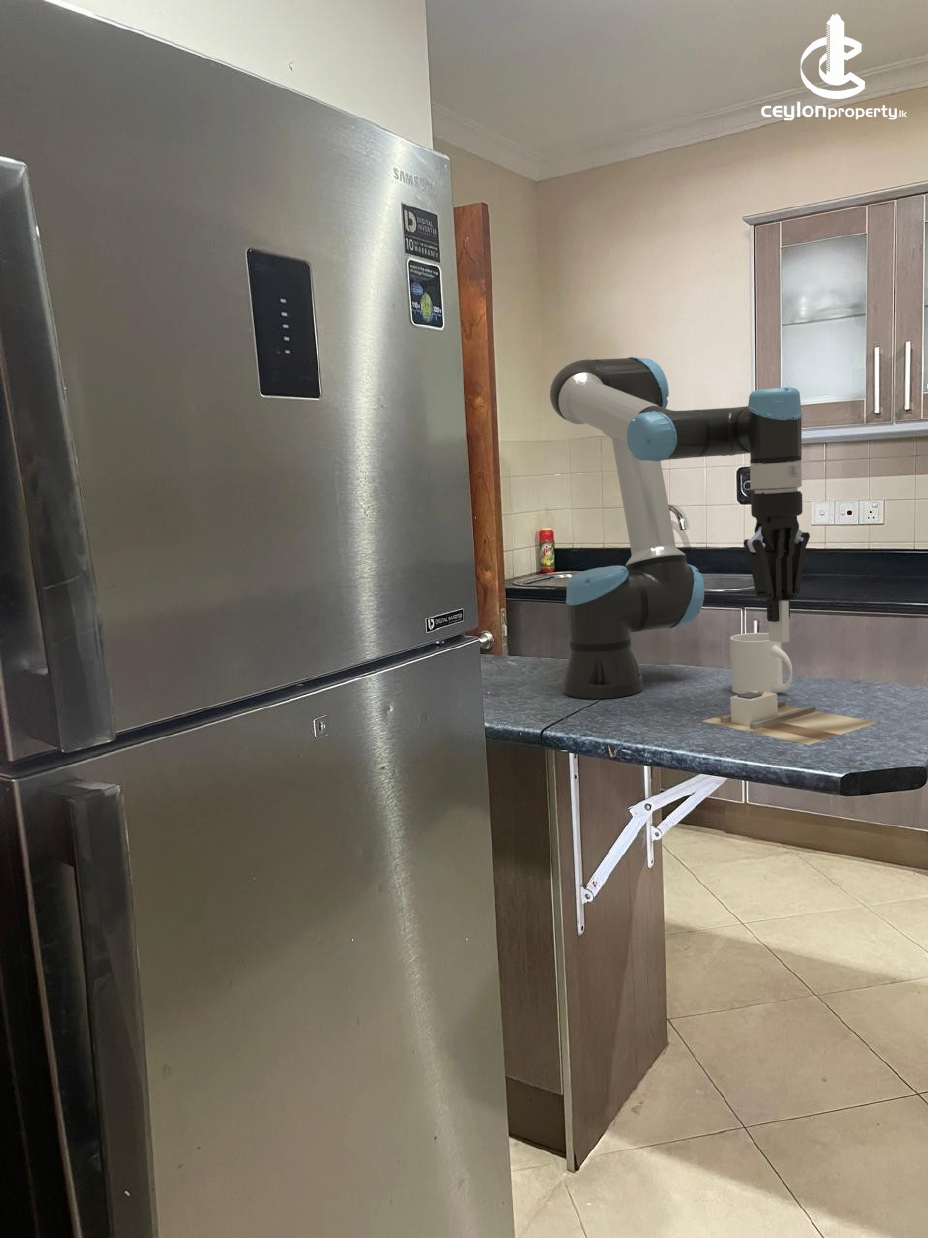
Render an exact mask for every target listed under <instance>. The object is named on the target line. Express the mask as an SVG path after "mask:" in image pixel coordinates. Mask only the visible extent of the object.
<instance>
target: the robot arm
mask: <svg viewBox="0 0 928 1238" xmlns="http://www.w3.org/2000/svg"><path fill="white" fill-rule="evenodd" d="M669 393H670V391H669V384H668V380H667V376H666V375H665V372H664V370H663V369H662V367H661V366H660V365H659V364H658V363H657V362H655V361H654V360H652V359H650V358H645V357H634V356H630V357H627V358H626V357H625V358H623V357H622V358H621V357H620V358H602V359H601V358H599V359H597V358H596V359H580V360H576V361H574V362H571V363H569V364H567V365H565V366H564V367H563V368H562V369H560V370H559V372H558V373H557V374H556V375H555V377H554V378H553V379H552V381H551V385H550V391H549V398H550V403H551V406H552V408H553V410H554V411H555V413H556V414H557V415H558V416H559V417H560V418H562V419H564V420H566V421H568V422H569V423H572V424H575V425H585V424H587V425H589V426H590V427H593V428H595V429H598V430H600V431H602V433H603V434H605V436H607V437H609V438H610V439H611V441H612V447H613V448H612V449H613V455H614V458H615V465H616V469H617V470H616V472H617V478H618V484H619V487H620V494H621V500H622V506H623V510H624V517H625V523H626V529H627V535H628V540H629V546H630V552H631V557H629V559H628V560H627V562H626V563H625V566H624V565H609V566H605V567H596V568H591V569H586V570H584V571H581V572H580V571H579V572H578V573H575V574H573V575H572V576H570V578H569V579H567V582H566V599H565V603H566V609H567V621H568V636H569V638H568V639H569V650H570V651H569V657H568V661H567V665H566V670H565V675H564V678H563V682H562V687H563V688H562V689H563V694H565V695H567V696H569V697H573V698H578V699H579V698H580V699H594V700H595V699H597V700H598V699H600V700H601V699H614V698H621V697H626V696H627V697H628V696H631V695H635V694H638V693H639V692H642V691H643V689H644V685H643V676H642V673H640V670H639V666H638V663H637V660H636V658H635V656H634V652H633V650H632V636H631V635H632V634H631V633H636V632H637V633H638V632H643V631H644V632H645V631H653V630H659V629H673V628H677V627H679V626H684V625H685V626H686V625H688V624H691V623H692V622H694V620H696V619H697V617H698V616H699V614H700V611H701V609H702V607H703V605H704V600H705V583H704V579H703V576H702V573H701V572H699V569H698V568H697V567H696V566H694V565H691V564H689V563H688V562H687V561H688V560H687V555H686V553H684V552H683V551H681V550H680V549H679V548H677V546H676V541H675V539H676V538H675V534H674V529H673V524H672V518H671V513H670V506H669V501H668V494H667V489H666V484H665V477H664V473H663V472H664V471H663V467H662V463H661V462H662V461H669V460H670V461H671V460H678V459H679V460H681V459H689V458H692V459H693V458H706V457H707V458H708V457H727V456H729V457H731V456H737V455H745V454H750V459H749V462H750V464H749V465H750V466H749V467H750V470H749V471H750V475H749V477H750V481H749V482H750V489H751V491H754V493H752V495H751V496H750V503H751V504H750V506H751V507H750V510H751V511H750V512H751V516H752V517H753V518H755V519H756V522H755V526H754V534H753V536H752V537H751V538H750V539H749V538H746V539H744V541H743V547H744V549H745V551H746V552H747V555H748V561H749V564H750V570H751V575H752V579H753V580H752V581H753V585H754V590H755V597H757V599H760V600H761V601H765V602H766V620H767V622H768V633H769V641H774V642H781V644H784V643H788V642H790V618H791V600H792V601H794V600H796V598H797V595H798V594H799V593H800V591H801V585H802V579H803V571H804V570H803V569H804V564H805V563H804V562H805V557H806V550H807V549H806V548H807V545H808V543H809V540H810V537H811V536H810V535H811V534H810V532H807V531H806V532H804V531H802V530H801V529H800V524H799V521H798V516H801V515H802V514H803V512H804V511H803V493H802V492H801V491H800V490H799V488H801V487H802V485H803V484H802V482H803V481H802V480H803V478H802V475H803V473H802V456H803V455H802V453H803V451H802V417H803V412H802V406H801V405H802V404H801V394H800V391H799V390H798V388H795V387H791V386H790V387H789V386H788V387H787V386H786V387H772V388H765V389H763V388H762V389H756V390H753V391H752V392H751V393H750V394H749V396H748V403H747V406H736V407H725V408H724V407H722V408H708V409H706V408H705V409H692V410H691V409H690V410H672V409H668V408H667V406H668V403H669V400H668V397H669V395H670V394H669ZM795 594H797V595H795Z"/></svg>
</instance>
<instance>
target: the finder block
mask: <svg viewBox="0 0 928 1238" xmlns="http://www.w3.org/2000/svg"><path fill="white" fill-rule="evenodd" d="M729 700H730V701H729V702H730V713H731V722H733V723H737V724H742V725H747V726H750V723H753V722H756V721H760V720H763V719H766V718H770V717H773V716H777V715H778V706H777V701H778V693H776V694H775V693H770V692H764V691H758V690H755V691H752V692H747V693H744V694H737V695H733V696H730V699H729Z"/></svg>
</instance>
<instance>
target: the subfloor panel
mask: <svg viewBox="0 0 928 1238" xmlns="http://www.w3.org/2000/svg"><path fill="white" fill-rule="evenodd" d="M777 706H778V715H777V716H773V717H770V718H766V719H763V720H760V721H756V722H753V723H750V726H747V725H742V724H737V723H733V722H731V712H729V713H726V714H722V715H718V716H714V717H712V718H708V719H704V720H702V721H701V722H702V723H706V724H712V725H716V726H721V727H723V728H724V727H726V728H729V729H735V730H739V731H743V732H747V733H748V732H749V733H753V734H756V735H761V736H765V737H769V738H775V739H779V740H782V741H787V742H791V743H797V744H801V745H806V746H811V745H814V744H817V743H821V742H823V741H826V740H829V739H832V738H835V737H839V736H841V735H844V734H848V733H851V732H854V731H856V730H860V729H864V728H866V727H869V726H872V725H876V724H878V723H879V722H878V721H873V720H867V719H866V720H865V719H861V718H856V717H849V716H845V715H840V714H834V713H828V712H825V711H824V712H823V711H819V710H816V706H811V705H809V706H805V707H796V706H791V705H786V701H784V700H777Z"/></svg>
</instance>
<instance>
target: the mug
mask: <svg viewBox="0 0 928 1238" xmlns="http://www.w3.org/2000/svg"><path fill="white" fill-rule="evenodd" d="M729 644H730V645H729V648H730V669H731V672H730V673H731V691H732V692H733V693H735V694H737V695H740V694H744V693H747V692H752V691H755V690H758V691H764V692H770V693H775V694H779V693H783V692H785V691H787V690H788V689H789V688H790V686H791V684H792V681H793V666H792V661H791V660H790V657H789V656H788V654H787V653H786V652H785V651H784V650H783V649H782V643H781V642H774V641H769V632H750V633H748V632H747V633H741V634H740V633H739V634H734V635H731V636H730V637H729ZM783 662H784V663H785V664H786V665H787V668H788V670H789V671H788V672H789V678H788V680H786V682H785V683H783Z"/></svg>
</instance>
